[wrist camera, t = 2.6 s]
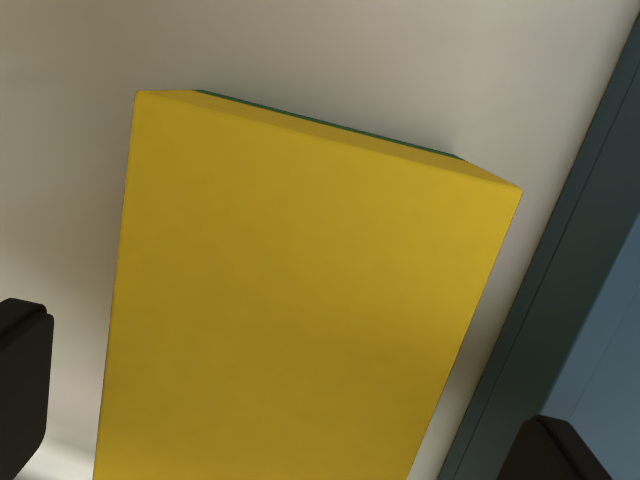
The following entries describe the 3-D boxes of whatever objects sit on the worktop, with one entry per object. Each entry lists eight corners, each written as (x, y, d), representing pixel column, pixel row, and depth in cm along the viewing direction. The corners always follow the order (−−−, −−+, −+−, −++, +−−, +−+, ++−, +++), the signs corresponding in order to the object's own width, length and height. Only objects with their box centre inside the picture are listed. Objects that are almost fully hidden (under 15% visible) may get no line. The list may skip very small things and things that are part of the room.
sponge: (350, 459, 14) (362, 592, 11) (148, 419, 14) (83, 545, 10) (456, 155, 11) (526, 189, 7) (199, 89, 11) (133, 89, 7)
